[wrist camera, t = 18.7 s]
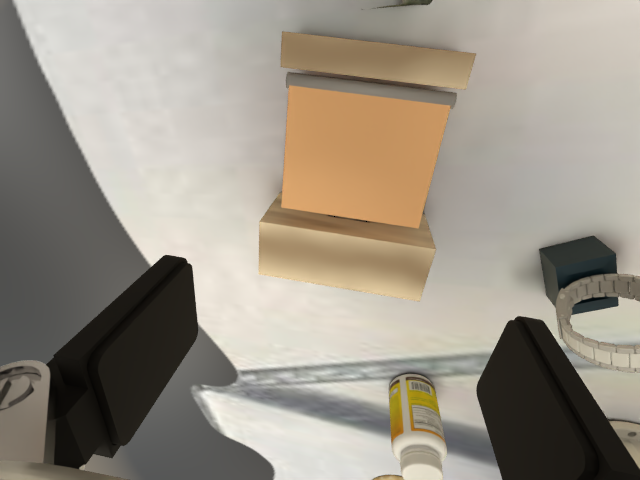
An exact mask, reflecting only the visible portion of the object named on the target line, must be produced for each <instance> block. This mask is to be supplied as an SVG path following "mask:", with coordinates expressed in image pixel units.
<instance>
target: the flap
mask: <svg viewBox="0 0 640 480" xmlns="http://www.w3.org/2000/svg"><path fill="white" fill-rule="evenodd" d="M286 87H287V88H289V93H288V109H287V125H286V141H285V157H284V173H283V188H282V204H281V208H288V209H295V210H301V211H308V212H314V213H321V214H327V215H334V216H340V217H347V218H353V219H360V220H366V221H373V222H379V223H386V224H392V225H399V226H405V227H412V228H418V229H419V225H420V221H421V217H422V213H423V210H424V206H425V202H426V198H427V194H428V191H429V187H430V183H431V179H432V175H433V172H434V168H435V164H436V160H437V157H438V153H439V149H440V145H441V141H442V138H443V134H444V130H445V126H446V122H447V119H448V115H449V111H450V109H453V107H454V105H455V102H456V97H457V93H453V92H445V91H437V90H429V89H421V88H413V87H405V86H396V85H388V84H380V83H372V82H364V81H356V80H348V79H340V78H331V77H323V76H315V75H307V74H299V73H291V72H288V73H287V77H286Z"/></svg>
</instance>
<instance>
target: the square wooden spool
mask: <svg viewBox="0 0 640 480" xmlns="http://www.w3.org/2000/svg"><path fill="white" fill-rule="evenodd" d="M475 56H476V54H475V53H466V52H457V51H449V50H440V49H431V48H422V47H414V46H405V45H396V44H387V43H379V42H370V41H361V40H352V39H344V38H335V37H326V36H317V35H308V34H300V33H291V32H282V44H281V67H284V68H292V69H301V70H309V71H317V72H325V73H333V74H342V75H350V76H358V77H366V78H374V79H383V80H391V81H399V82H407V83H415V84H423V85H432V86H440V87H448V88H456V89H464V90H466V87H467V84H468V80H469V77H470V73H471V70H472V66H473V63H474V60H475ZM281 204H282V193H279V195H278V196H277V198H276V199H275V200H274V202H273V203H272V205H271V206H270V207H269V209H268V210H267V212H266V213H265V215H264V216H263V217H262V219H261V220H260V225H259V274H260V275H266V276H272V277H278V278H284V279H290V280H296V281H302V282H308V283H314V284H319V285H325V286H331V287H337V288H343V289H349V290H355V291H361V292H367V293H373V294H378V295H384V296H390V297H396V298H402V299H408V300H414V301H420V299H421V295H422V292H423V289H424V286H425V283H426V280H427V277H428V273H429V270H430V267H431V264H432V261H433V258H434V255H435V251H436V248H435V245H434V241H433V238H432V235H431V232H430V229H429V226H428V223H427V220H426V217H425V214H422V217H421V221H420V225H419V229H418V228H412V227H405V226H399V225H392V224H386V223H379V222H373V221H367V222H362V221H356V220H349V219H343V218H336V217H330V215H327V214H321V213H314V212H308V211H301V210H295V209H288V208H281Z"/></svg>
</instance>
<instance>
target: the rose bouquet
mask: <svg viewBox="0 0 640 480" xmlns="http://www.w3.org/2000/svg"><path fill="white" fill-rule="evenodd" d="M431 2H432V0H403V3H402V4H400V5H394V6H385V7H395V6H406V5H417V4H421V5H428V4H430V3H431ZM379 8H384V7H379ZM372 9H374V8H372ZM361 10H363V9H361Z"/></svg>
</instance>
